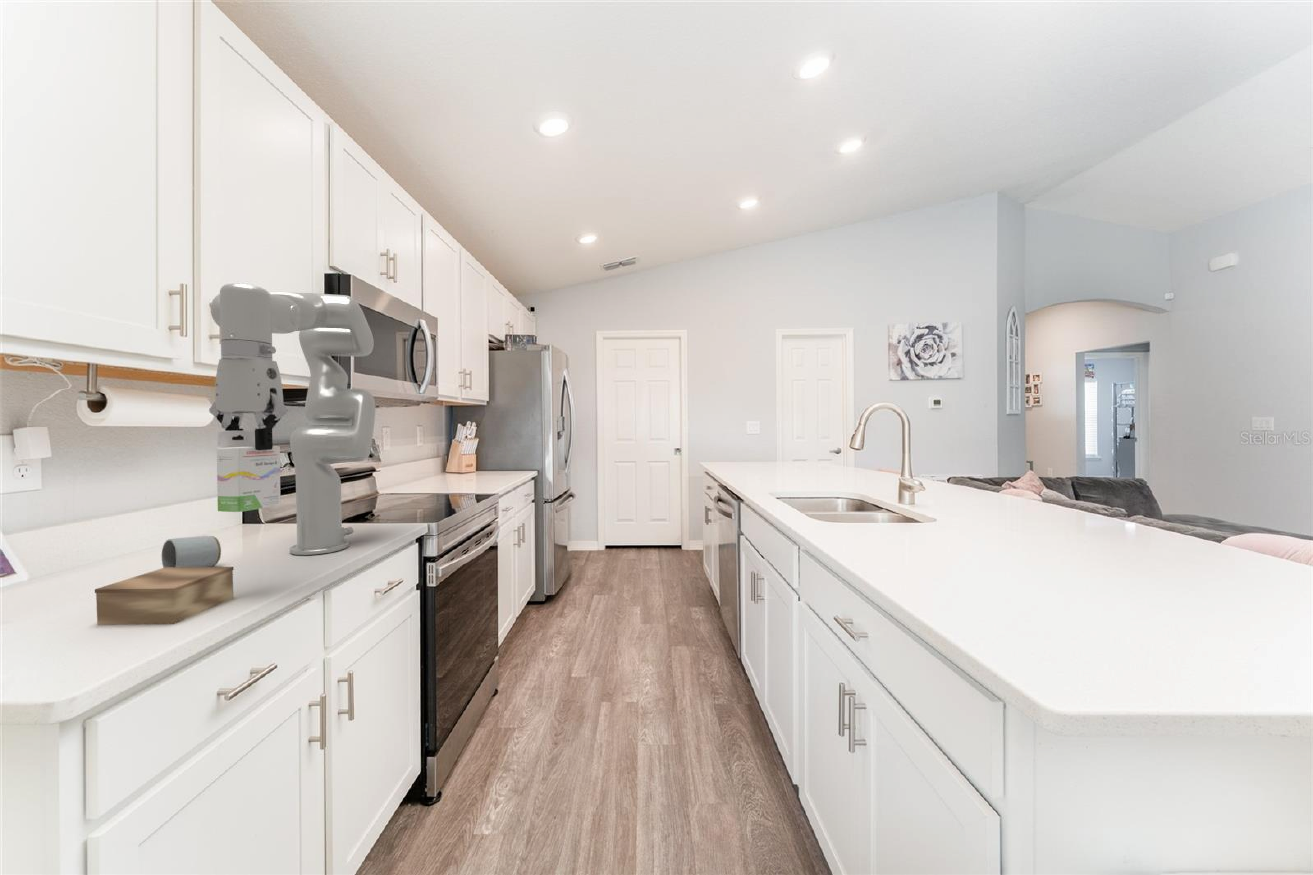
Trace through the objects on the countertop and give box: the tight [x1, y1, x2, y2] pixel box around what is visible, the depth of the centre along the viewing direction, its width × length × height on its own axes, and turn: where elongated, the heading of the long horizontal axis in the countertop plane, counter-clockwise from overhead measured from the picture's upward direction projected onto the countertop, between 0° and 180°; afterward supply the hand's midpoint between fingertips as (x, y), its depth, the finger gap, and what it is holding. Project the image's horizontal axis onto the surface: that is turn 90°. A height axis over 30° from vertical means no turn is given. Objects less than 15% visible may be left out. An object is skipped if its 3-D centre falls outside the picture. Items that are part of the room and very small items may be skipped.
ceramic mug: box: [160, 535, 222, 568], centre depth 112 cm, size 11×8×8 cm
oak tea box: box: [94, 566, 234, 626], centre depth 88 cm, size 12×12×6 cm
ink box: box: [216, 430, 281, 513], centre depth 96 cm, size 9×5×15 cm, turn 170°
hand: (249, 448), depth 96 cm, fingers closed on ink box, 5 cm apart
